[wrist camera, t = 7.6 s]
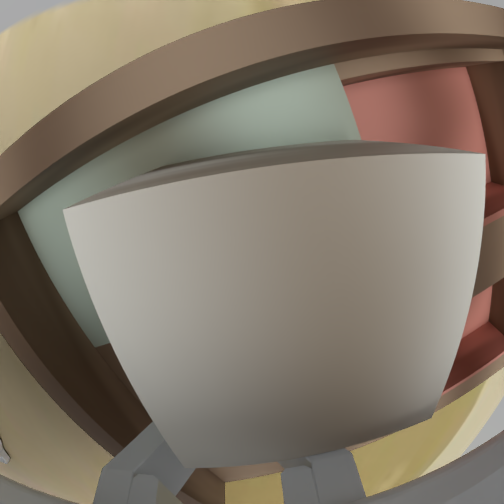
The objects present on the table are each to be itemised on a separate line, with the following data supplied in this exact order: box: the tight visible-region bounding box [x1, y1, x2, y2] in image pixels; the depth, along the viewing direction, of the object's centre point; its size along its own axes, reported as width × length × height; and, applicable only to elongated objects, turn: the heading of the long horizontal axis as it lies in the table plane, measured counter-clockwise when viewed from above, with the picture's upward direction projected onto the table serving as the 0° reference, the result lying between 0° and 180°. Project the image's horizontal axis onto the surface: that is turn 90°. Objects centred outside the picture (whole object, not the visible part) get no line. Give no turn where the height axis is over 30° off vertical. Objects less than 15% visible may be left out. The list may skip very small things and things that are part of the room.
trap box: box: [0, 0, 504, 504], centre depth 10 cm, size 22×18×6 cm
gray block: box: [63, 140, 486, 468], centre depth 6 cm, size 5×5×5 cm
